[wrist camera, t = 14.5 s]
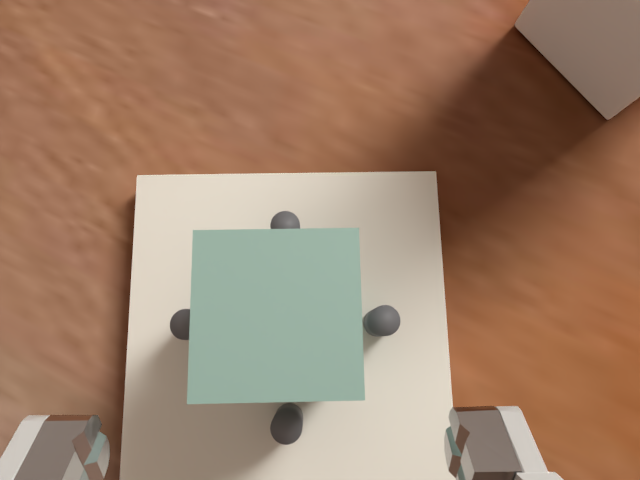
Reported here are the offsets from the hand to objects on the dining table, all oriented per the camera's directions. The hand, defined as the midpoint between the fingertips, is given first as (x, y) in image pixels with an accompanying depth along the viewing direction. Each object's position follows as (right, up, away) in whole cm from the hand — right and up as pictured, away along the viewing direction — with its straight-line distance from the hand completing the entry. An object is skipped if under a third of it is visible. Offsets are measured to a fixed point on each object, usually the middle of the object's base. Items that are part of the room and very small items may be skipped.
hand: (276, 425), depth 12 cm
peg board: (0, 0, +12) cm, 12 cm away
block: (0, +1, +10) cm, 10 cm away
